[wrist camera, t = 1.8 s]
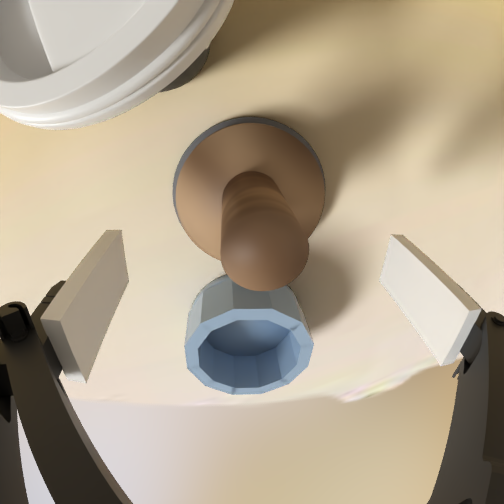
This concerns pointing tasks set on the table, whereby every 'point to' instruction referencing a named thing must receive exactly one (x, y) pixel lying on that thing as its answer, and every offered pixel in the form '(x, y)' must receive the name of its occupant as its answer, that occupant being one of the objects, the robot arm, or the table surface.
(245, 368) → the bowl
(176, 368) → the table surface
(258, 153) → the lid
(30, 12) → the coffee cup
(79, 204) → the table surface
